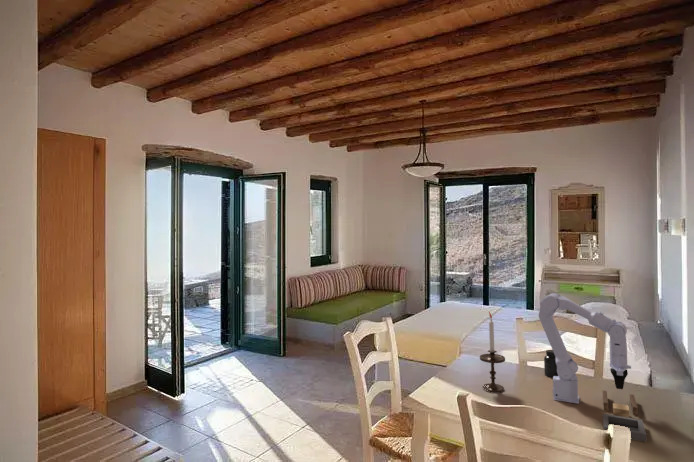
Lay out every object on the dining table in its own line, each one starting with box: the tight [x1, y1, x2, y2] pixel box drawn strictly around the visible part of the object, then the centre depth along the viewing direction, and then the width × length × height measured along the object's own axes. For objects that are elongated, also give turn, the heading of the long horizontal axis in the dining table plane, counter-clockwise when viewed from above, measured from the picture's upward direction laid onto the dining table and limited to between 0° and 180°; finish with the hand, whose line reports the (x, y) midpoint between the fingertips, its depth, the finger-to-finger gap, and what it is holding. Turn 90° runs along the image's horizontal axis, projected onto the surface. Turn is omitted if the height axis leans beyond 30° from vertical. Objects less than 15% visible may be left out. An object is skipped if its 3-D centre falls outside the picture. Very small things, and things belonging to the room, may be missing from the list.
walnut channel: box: [602, 390, 639, 417], centre depth 167 cm, size 11×14×3 cm
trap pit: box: [602, 413, 648, 443], centre depth 147 cm, size 12×12×2 cm
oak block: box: [612, 402, 630, 418], centre depth 157 cm, size 5×5×4 cm
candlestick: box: [479, 311, 506, 393], centre depth 188 cm, size 11×11×35 cm
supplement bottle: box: [543, 349, 558, 378], centre depth 203 cm, size 7×7×12 cm
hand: (619, 388), depth 163 cm, fingers closed
